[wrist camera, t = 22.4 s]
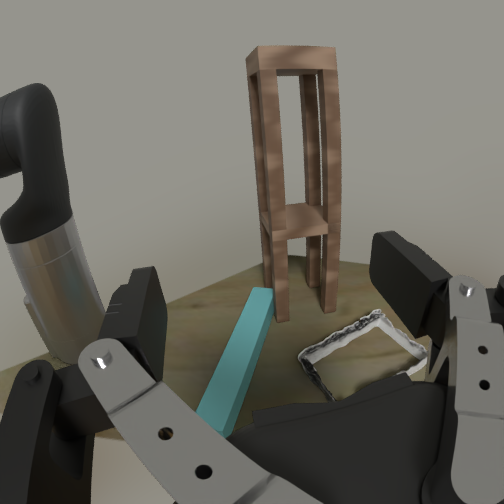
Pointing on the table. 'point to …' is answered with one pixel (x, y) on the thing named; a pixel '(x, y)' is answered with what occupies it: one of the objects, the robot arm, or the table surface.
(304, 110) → the walnut stand
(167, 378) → the table surface
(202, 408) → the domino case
